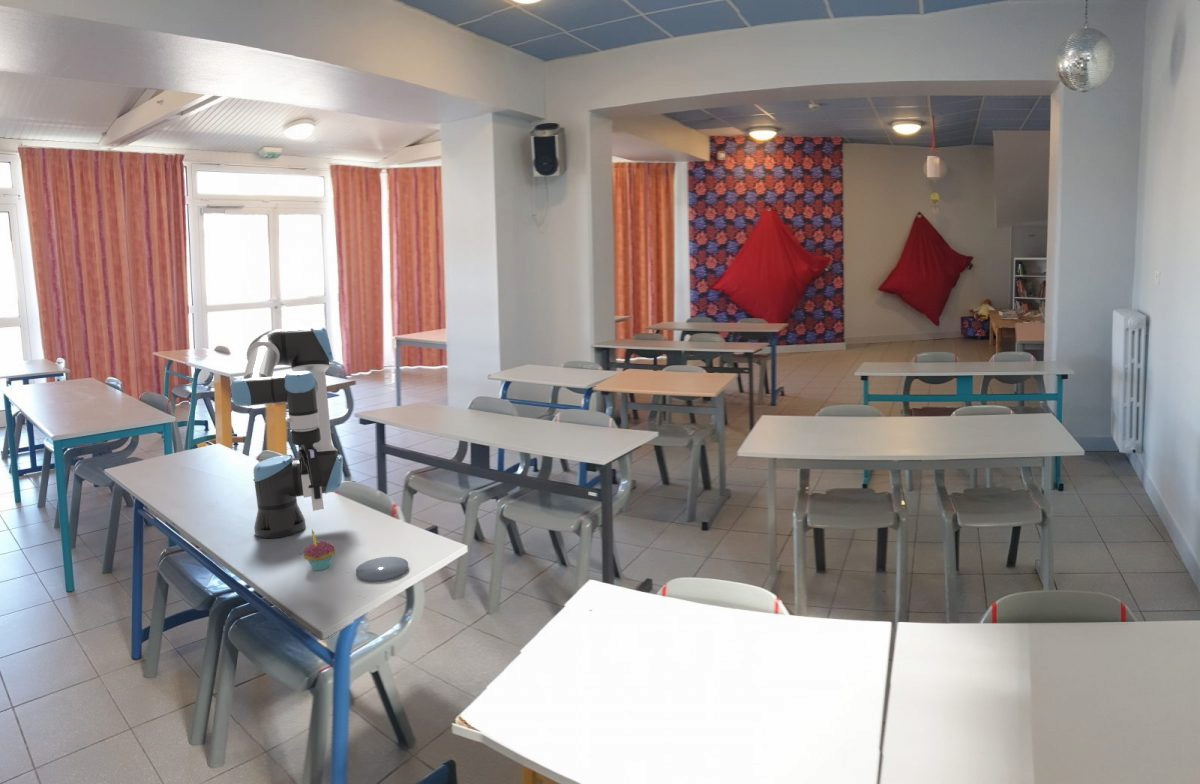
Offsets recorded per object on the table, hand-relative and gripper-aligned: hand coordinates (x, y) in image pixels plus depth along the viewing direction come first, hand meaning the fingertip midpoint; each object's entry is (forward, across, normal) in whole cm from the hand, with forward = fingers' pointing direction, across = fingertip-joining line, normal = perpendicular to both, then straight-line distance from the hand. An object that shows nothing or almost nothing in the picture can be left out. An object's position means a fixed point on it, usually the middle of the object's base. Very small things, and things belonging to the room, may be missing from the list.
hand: (313, 502), depth 221 cm
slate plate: (+19, +13, +14) cm, 27 cm away
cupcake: (+19, 0, 0) cm, 19 cm away
